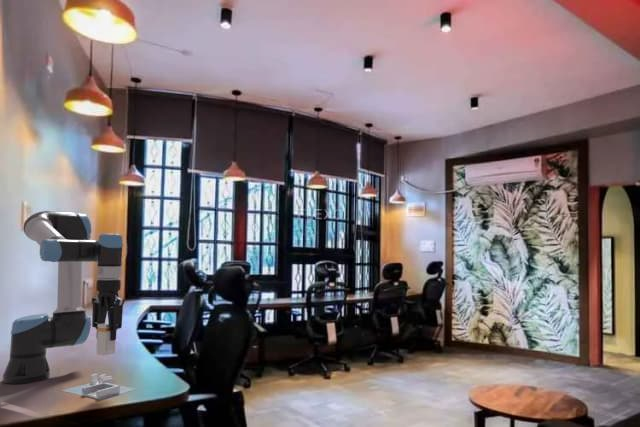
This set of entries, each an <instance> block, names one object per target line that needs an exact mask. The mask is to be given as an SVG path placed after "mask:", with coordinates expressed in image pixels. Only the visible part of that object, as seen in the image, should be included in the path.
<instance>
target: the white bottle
mask: <svg viewBox="0 0 640 427" xmlns="http://www.w3.org/2000/svg"><path fill="white" fill-rule="evenodd" d="M108 329H109V322H105V323H100V324H98V328H97V329H96V336H97V338H96V355H97V356H110V355H114V354H115V353H116V349H115V350H111V351H106V347H107V331H108Z"/></svg>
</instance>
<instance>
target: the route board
mask: <svg viewBox="0 0 640 427" xmlns="http://www.w3.org/2000/svg"><path fill="white" fill-rule="evenodd" d="M97 382H99V380H97ZM88 386H91V385H90V382H89V383H86V384H82V385H78V386H73V387H69V388H65V389H62V390H60V391H61V392H65V393H69V394H73V395H77V396H81V397H83V396H82V388H84V387H88ZM119 386H120V393H118V394H115V395H111V396H108V397H105V398H101V399H97V400H99V401H101V400H104V399H108V398H112V397H115V396H118V395H122V394H125V393H128V392H133V391H135V390H137V388H133V387H128V386H125V385H124V386H123V385H119ZM84 397H85V398H87V397H86V396H84ZM88 398H90V397H88ZM90 399H91V398H90Z"/></svg>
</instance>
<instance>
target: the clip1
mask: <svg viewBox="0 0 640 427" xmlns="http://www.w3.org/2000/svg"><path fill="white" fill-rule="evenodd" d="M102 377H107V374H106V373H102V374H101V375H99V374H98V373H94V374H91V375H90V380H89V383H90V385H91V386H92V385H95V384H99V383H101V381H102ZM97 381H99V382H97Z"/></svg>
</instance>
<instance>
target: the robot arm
mask: <svg viewBox="0 0 640 427" xmlns="http://www.w3.org/2000/svg"><path fill="white" fill-rule="evenodd" d="M91 225H92V223H91V221H90V218H89V216H88V215H86V214H85V213H81V212H80V213H78V212H74V211H73V212H72V211H71V212H69V211H67V212H65V211H54V210H53V211H51V210H43V211H39V212H36V213H34V214H31V215H30V216H29V217H27V218H26V220H25V221H24V223H23V226H22V227H23V232H24V234H25V236H26V237H27V238H28V239H30V240H31V241H33V242H35V243H37V244H38V245H39V256H40V260H41V261H43V262H52V263H58V264H57V300H56V301H57V306H56V309H55V310H54V311H53V312H52V316H51V317H50V316H49V315H48V314H47V313H39V314H32V315H26V316H21V317H19V318H16V319H14V321H13V322H12V325H11V331H10V334H11V336H10V347H9V348H10V349H9V359H8V362H7V365H6V368H5V369H4V372H3V375H2V383H5V384H8V385H9V384H11V385H12V384H13V385H17V384H18V385H20V384H30V383H36V382H40V381H43V380H47V379H49V378H50V376H51V369H50V367H49V362H48V360H47V349H51V348H52V349H53V348H54V349H55V348H62V347H74V346H77V345H82V344H84V343H85V342H86V341H87V339H88V338H89V335H90V332H91V326H92V327H93V328H95V330H97V328H98V324H100V323H106V319H107V320H108V322H109V329H108V331H107V347H106V351H111V350H115V351H116V341H117V331H118V330H120V329H121V328H122V325H123V313H124V312H123V310H124V304H125V298H120V297H119V291H121V289H122V288H121V287H122V286H121V285H122V284H121V282H122V281H121V278H122V263H123V262H122V261H123V246H124V243H123V242H124V241H123V235H122V234H120V233H100V234H99V236H98V239H97V240H94V239H93V240H92V239H91V237H92V226H91ZM90 239H91V240H90ZM83 262H87V263H88V262H89V263H90V262H91V263H92V262H93V263H97V268H96V270H97V272H96V279H97V280H96V283H95V284H96V286H95V288H96V289H95V290H96V292H98V294H97V296H96V297H92V298H91V303H92V317H91V316H90V315H89V314H87V313H86V309H85V308H84V307H83V306H82V278H83V277H82V273H83V272H82V271H83V270H82V269H83V268H82V263H83ZM91 318H92V319H91ZM108 322H107V323H108ZM95 338H96V339H97V335H96V337H95Z"/></svg>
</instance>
